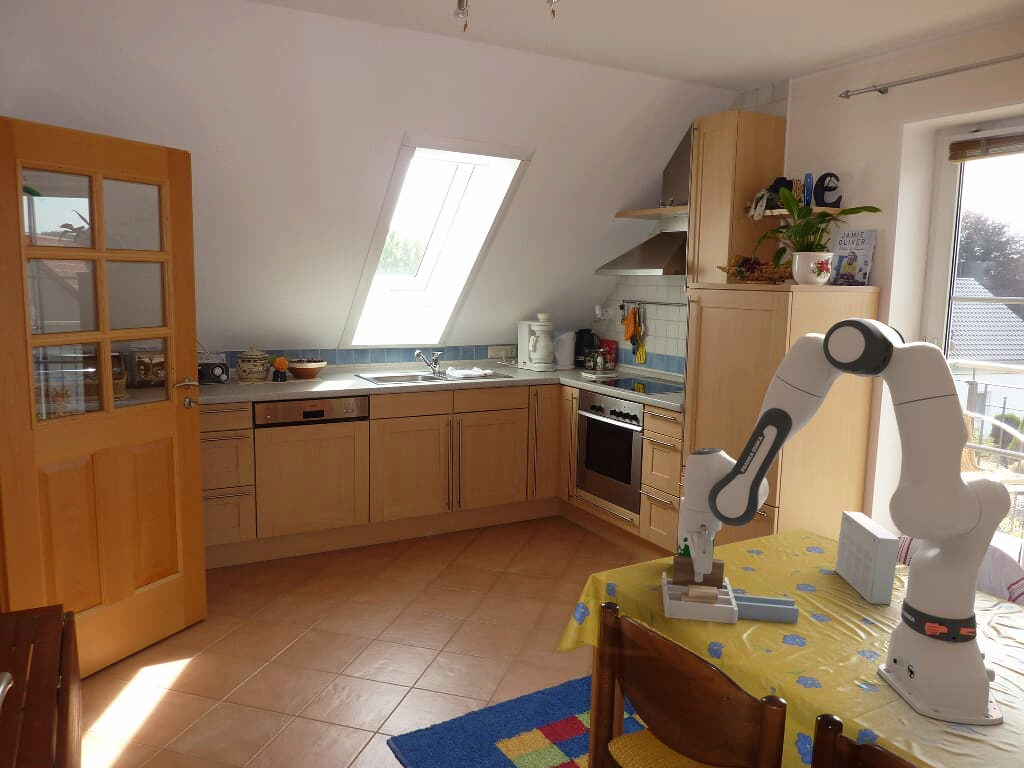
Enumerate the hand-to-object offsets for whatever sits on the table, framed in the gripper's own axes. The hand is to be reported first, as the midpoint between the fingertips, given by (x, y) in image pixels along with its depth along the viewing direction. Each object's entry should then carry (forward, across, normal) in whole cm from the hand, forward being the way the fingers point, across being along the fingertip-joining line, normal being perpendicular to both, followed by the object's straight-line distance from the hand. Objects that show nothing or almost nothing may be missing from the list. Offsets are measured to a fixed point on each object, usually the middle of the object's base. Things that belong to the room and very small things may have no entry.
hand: (697, 577), depth 177 cm
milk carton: (+6, +19, -1) cm, 20 cm away
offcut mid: (+3, -8, 0) cm, 8 cm away
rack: (+6, -3, 0) cm, 6 cm away
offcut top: (+1, -8, 0) cm, 8 cm away
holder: (+6, -6, -14) cm, 16 cm away
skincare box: (+6, +18, -41) cm, 45 cm away
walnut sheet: (+5, 0, 0) cm, 5 cm away
